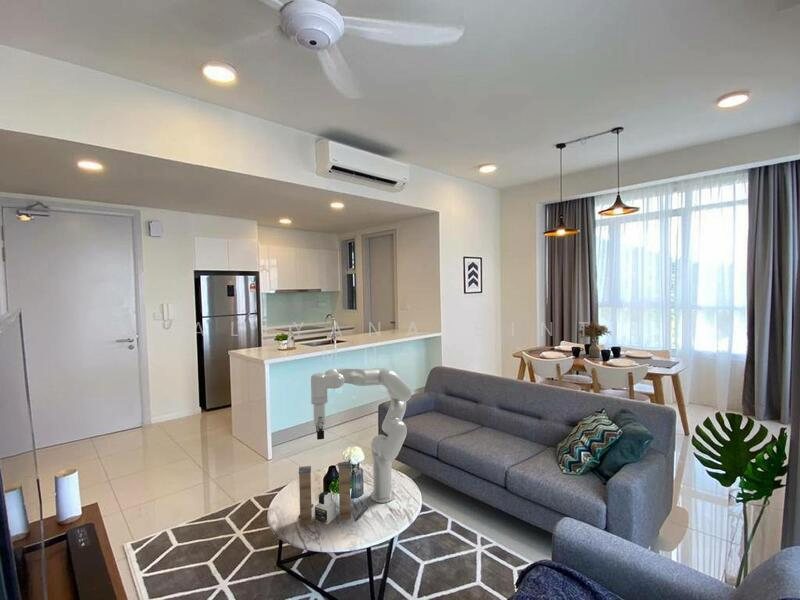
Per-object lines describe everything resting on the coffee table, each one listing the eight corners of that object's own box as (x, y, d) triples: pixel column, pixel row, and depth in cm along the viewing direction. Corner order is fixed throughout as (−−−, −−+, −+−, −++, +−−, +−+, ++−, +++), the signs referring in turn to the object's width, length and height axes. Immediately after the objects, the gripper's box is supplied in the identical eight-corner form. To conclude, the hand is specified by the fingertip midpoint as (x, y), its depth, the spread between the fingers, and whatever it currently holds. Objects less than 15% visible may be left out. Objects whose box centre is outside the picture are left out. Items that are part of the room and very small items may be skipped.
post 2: (339, 513, 183) (337, 462, 183) (350, 512, 184) (349, 461, 184) (339, 520, 178) (338, 468, 177) (351, 518, 179) (350, 466, 178)
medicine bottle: (314, 521, 178) (314, 495, 178) (324, 513, 184) (324, 488, 184) (327, 525, 175) (326, 499, 174) (336, 516, 181) (336, 491, 181)
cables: (306, 505, 191) (306, 503, 191) (368, 507, 188) (368, 505, 188) (298, 518, 180) (298, 515, 180) (364, 520, 177) (364, 518, 177)
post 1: (300, 518, 180) (299, 467, 179) (312, 517, 181) (310, 465, 180) (299, 525, 174) (298, 472, 174) (312, 524, 176) (310, 471, 175)
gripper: (310, 395, 189) (311, 429, 190) (311, 405, 172) (312, 443, 173) (326, 394, 191) (327, 428, 191) (328, 404, 174) (329, 441, 175)
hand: (320, 435), depth 182 cm, fingers open, 9 cm apart
